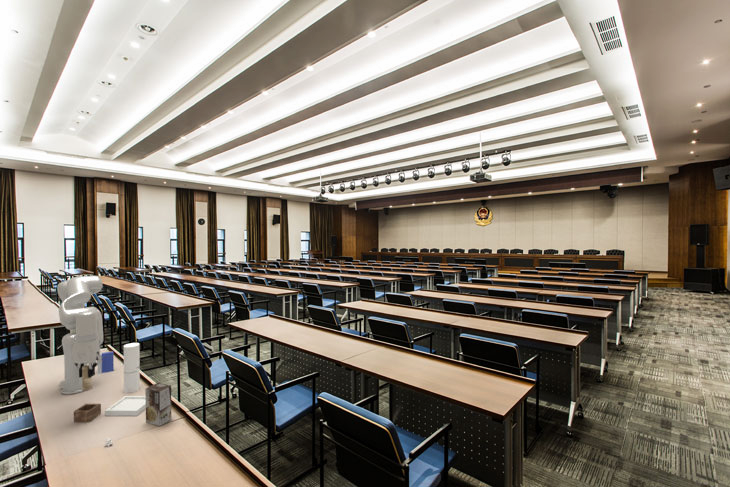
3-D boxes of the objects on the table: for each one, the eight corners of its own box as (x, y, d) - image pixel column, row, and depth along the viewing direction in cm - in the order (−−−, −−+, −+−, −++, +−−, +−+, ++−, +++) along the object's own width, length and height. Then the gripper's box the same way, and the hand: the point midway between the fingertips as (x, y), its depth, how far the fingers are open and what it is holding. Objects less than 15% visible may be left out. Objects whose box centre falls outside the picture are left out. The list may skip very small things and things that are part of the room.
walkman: (113, 369, 211) (113, 350, 210) (113, 370, 209) (113, 351, 208) (97, 372, 206) (97, 353, 206) (97, 374, 204) (97, 354, 204)
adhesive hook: (112, 443, 140) (112, 436, 140) (114, 446, 138) (114, 438, 138) (103, 447, 137) (103, 439, 137) (105, 449, 136) (105, 442, 136)
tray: (104, 415, 159) (104, 410, 159) (125, 400, 173) (125, 396, 173) (137, 415, 160) (137, 410, 160) (154, 400, 174) (154, 396, 174)
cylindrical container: (142, 387, 188) (142, 343, 188) (132, 393, 181) (132, 347, 180) (131, 386, 189) (130, 342, 188) (120, 392, 182) (120, 346, 181)
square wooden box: (73, 422, 154) (73, 411, 153) (86, 413, 161) (85, 403, 160) (89, 422, 154) (89, 411, 154) (100, 413, 161) (100, 403, 161)
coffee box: (172, 419, 158) (172, 385, 157) (159, 426, 152) (159, 391, 151) (157, 415, 161) (157, 382, 160) (145, 422, 155) (144, 388, 154)
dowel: (80, 390, 155) (80, 367, 155) (86, 387, 159) (86, 364, 158) (87, 391, 155) (87, 367, 155) (93, 387, 159) (93, 364, 158)
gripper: (61, 340, 152) (61, 379, 153) (98, 340, 152) (98, 380, 153) (75, 334, 159) (75, 372, 160) (110, 335, 160) (110, 373, 161)
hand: (87, 375), depth 157 cm, fingers closed on dowel, 3 cm apart
